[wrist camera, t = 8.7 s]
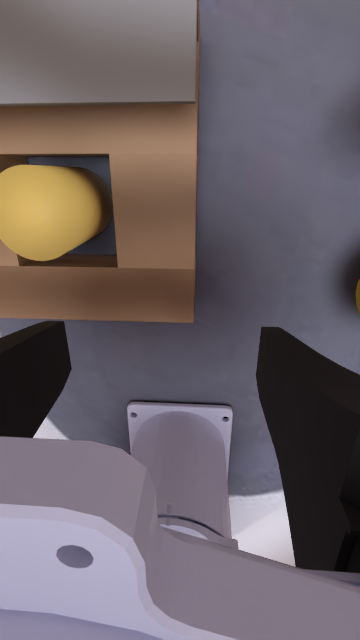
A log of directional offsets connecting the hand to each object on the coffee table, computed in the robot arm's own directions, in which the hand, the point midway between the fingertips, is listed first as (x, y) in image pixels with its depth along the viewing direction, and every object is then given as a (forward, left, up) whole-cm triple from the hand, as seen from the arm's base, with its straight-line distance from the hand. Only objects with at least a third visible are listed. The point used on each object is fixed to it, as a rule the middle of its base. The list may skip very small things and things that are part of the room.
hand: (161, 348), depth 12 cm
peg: (+4, +6, -10) cm, 12 cm away
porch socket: (+4, +6, -10) cm, 12 cm away
